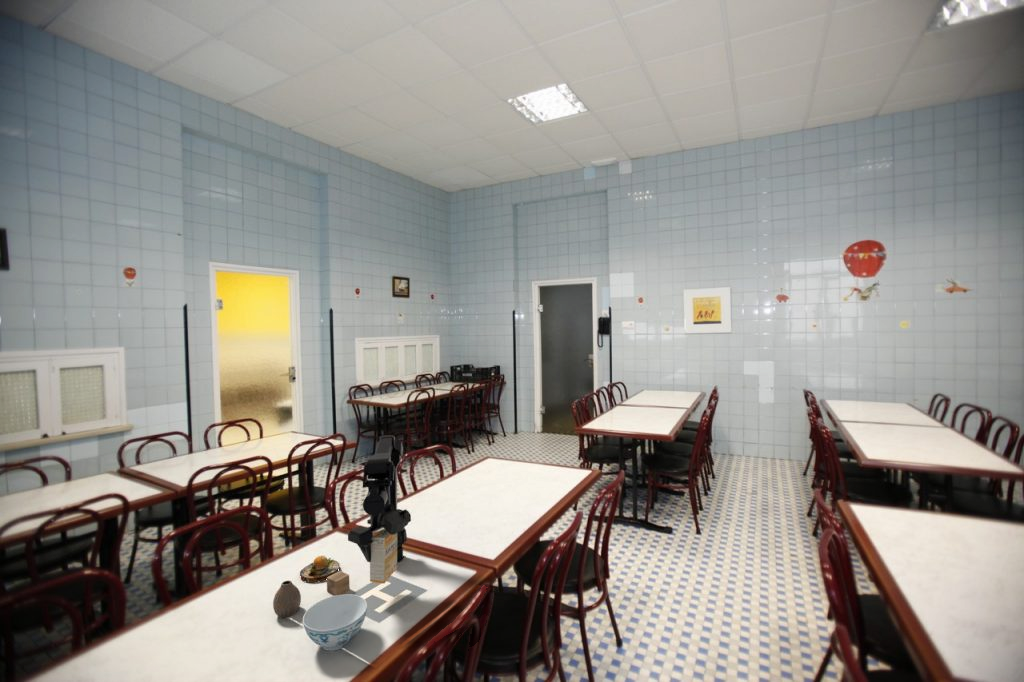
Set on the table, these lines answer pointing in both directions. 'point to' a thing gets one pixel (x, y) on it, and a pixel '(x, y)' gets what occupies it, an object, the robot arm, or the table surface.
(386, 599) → the letter board
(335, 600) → the chinaware
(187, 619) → the table surface
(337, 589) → the walnut block
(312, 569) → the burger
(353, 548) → the table surface
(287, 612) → the vase
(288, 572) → the table surface
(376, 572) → the supplement box
